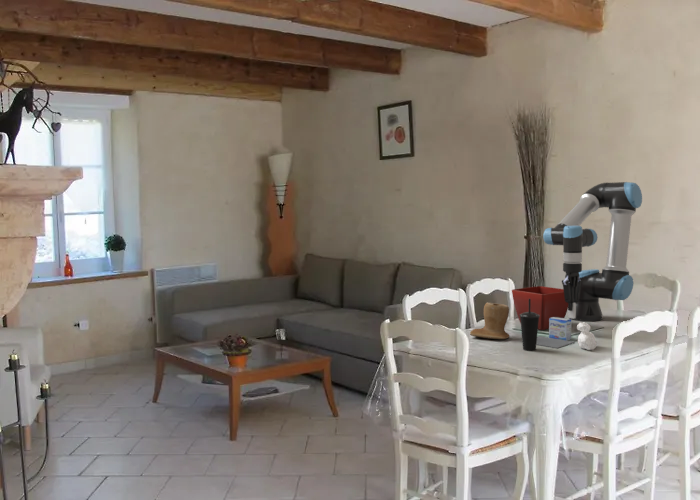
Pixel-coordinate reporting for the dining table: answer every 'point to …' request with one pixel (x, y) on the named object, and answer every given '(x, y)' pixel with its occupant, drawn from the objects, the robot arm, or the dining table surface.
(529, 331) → the drinking cup
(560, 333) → the medicine box
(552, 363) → the dining table surface
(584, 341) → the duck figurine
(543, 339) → the mat
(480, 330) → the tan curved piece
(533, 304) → the plant pot
